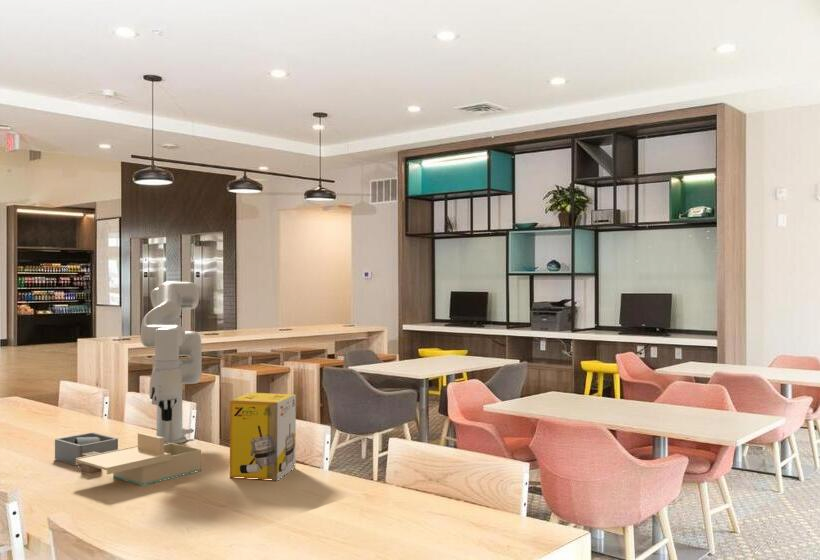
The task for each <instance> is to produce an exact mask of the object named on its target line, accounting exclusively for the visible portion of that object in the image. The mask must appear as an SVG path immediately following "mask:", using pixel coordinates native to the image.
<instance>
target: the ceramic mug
mask: <svg viewBox="0 0 820 560" xmlns="http://www.w3.org/2000/svg"><path fill="white" fill-rule="evenodd" d="M100 441H101V440H100V438H98V437H79V438H75V441H74V443H75V444H78V445H84V444H89V443H95V442H100Z"/></svg>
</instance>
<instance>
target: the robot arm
mask: <svg viewBox="0 0 820 560" xmlns="http://www.w3.org/2000/svg"><path fill="white" fill-rule="evenodd" d="M150 301H151V305H152V307H153V308H152V309H150V311H148V312H147V313H146V314H145V315H144V317H143V318H142V322H141V326H140V342H141V345H142V346H144V347H145V348H154V369H152V371H151V376H150V381H149V395H148V396H149V399H150V400H151V405H154V406H156V435H155V436H159V437H164V444H169V443H175V444H179V445H180V444H182V443H185V442H186V441H187V437H186V435H189V434H192V433H193V432H194V429H193V428H192V427H191V428H187V429H186V428H183V389H184V388H183V387H184V386H183V385H190V384H191V385H193V384H198V383H199V382H200V381H201V380H202V369H203V368H202V366H203V365H202V362H203V361H202V360H203V358H202V352H203V351H202V338H201V335H200V333H199V332H197V331H194V330H190V331H189V330H188V331H187V330H185V329H184V328H183V326H182V318H181V313H182V310H194V309H196V308H197V307H198V306H199V301H200V292H199V288H198V285H197V284H196V283H195V282H191V281H165V282H163V283H162V282H161V284H159V285H158V287H155V288H153V289H152V290H151V291H150ZM182 356H185V357H188V359H186V358H185V359H180V357H182Z"/></svg>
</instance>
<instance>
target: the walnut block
mask: <svg viewBox="0 0 820 560" xmlns="http://www.w3.org/2000/svg"><path fill="white" fill-rule="evenodd" d="M94 454H99V453H98V452H95V451H94V452H89V453H84V454H82V457H84V456H89V455H94ZM80 471H81V473H84V474H87V475H93V474H97V472H98V473H101V471H102V472H103V469H100V468H97V467H94V466H90V465H87V464H82V466H81V470H80Z"/></svg>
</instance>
